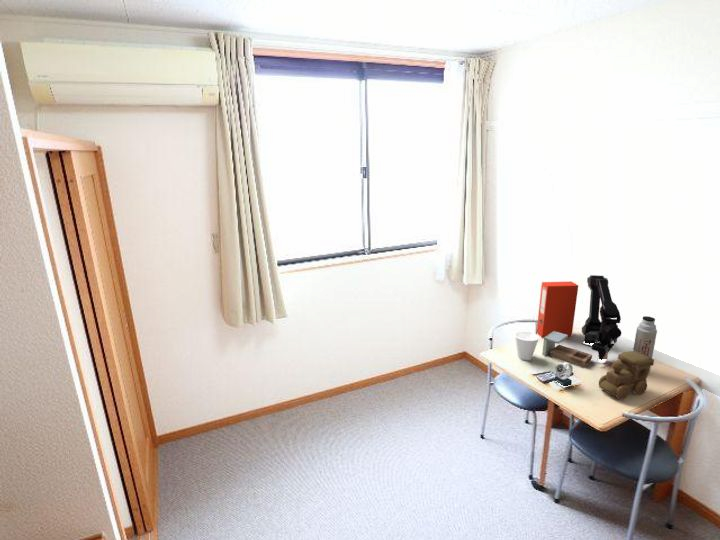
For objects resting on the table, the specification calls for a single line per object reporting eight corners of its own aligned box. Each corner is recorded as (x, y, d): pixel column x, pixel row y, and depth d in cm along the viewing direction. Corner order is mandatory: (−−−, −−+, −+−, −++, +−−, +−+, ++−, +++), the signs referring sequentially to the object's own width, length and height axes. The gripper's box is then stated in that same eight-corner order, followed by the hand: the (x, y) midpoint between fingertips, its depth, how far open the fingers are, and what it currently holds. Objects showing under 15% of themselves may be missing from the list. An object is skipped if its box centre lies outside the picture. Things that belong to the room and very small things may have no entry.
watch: (551, 383, 195) (553, 362, 192) (564, 379, 197) (567, 359, 194) (560, 389, 190) (563, 367, 187) (574, 385, 192) (576, 364, 189)
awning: (551, 347, 230) (553, 331, 227) (565, 351, 224) (567, 335, 222) (542, 354, 222) (544, 337, 219) (556, 359, 216) (558, 342, 214)
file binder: (571, 337, 241) (578, 285, 232) (542, 338, 241) (547, 286, 232) (565, 331, 249) (571, 281, 240) (536, 332, 249) (541, 281, 240)
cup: (530, 351, 226) (532, 330, 222) (540, 362, 214) (543, 340, 211) (509, 352, 225) (511, 331, 222) (518, 363, 214) (520, 341, 211)
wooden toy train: (627, 380, 195) (632, 348, 191) (650, 393, 185) (657, 360, 180) (594, 389, 189) (599, 356, 185) (616, 402, 179) (622, 368, 174)
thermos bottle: (647, 376, 198) (657, 322, 191) (628, 371, 204) (637, 318, 196) (650, 370, 204) (660, 317, 196) (631, 365, 209) (640, 313, 202)
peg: (599, 359, 216) (601, 345, 214) (607, 361, 213) (609, 347, 211) (596, 361, 213) (598, 347, 211) (604, 364, 210) (607, 350, 208)
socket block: (558, 350, 226) (558, 344, 225) (591, 360, 214) (592, 354, 213) (550, 356, 220) (550, 350, 219) (583, 367, 208) (584, 361, 207)
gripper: (596, 320, 220) (592, 347, 224) (582, 331, 208) (578, 358, 212) (619, 326, 212) (615, 354, 216) (606, 337, 200) (602, 366, 204)
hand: (602, 358), depth 213 cm, fingers open, 4 cm apart
